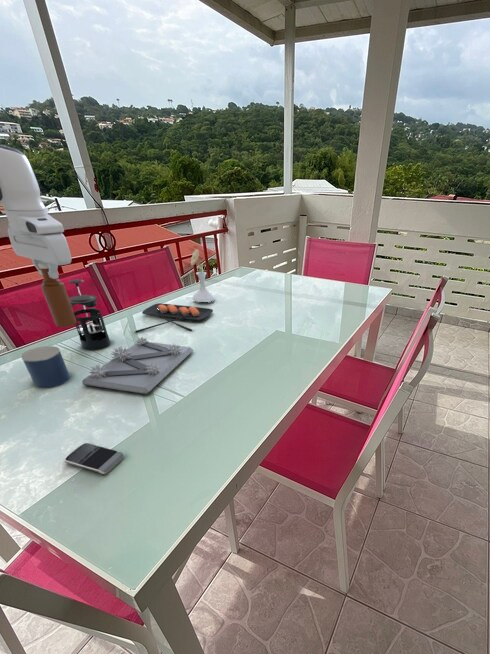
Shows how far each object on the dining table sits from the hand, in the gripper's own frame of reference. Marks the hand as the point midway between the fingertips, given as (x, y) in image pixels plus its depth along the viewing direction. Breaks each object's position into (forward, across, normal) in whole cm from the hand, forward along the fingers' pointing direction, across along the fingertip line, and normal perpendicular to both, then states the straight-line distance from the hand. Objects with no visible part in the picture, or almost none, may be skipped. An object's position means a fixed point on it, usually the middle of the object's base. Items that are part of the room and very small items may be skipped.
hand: (49, 276), depth 94 cm
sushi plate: (+27, -3, +43) cm, 51 cm away
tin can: (+28, +3, -11) cm, 30 cm away
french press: (+28, -8, +12) cm, 31 cm away
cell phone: (+28, +44, -27) cm, 59 cm away
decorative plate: (+28, +20, +8) cm, 35 cm away
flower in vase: (+27, -8, +71) cm, 77 cm away
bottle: (+14, 0, 0) cm, 14 cm away
